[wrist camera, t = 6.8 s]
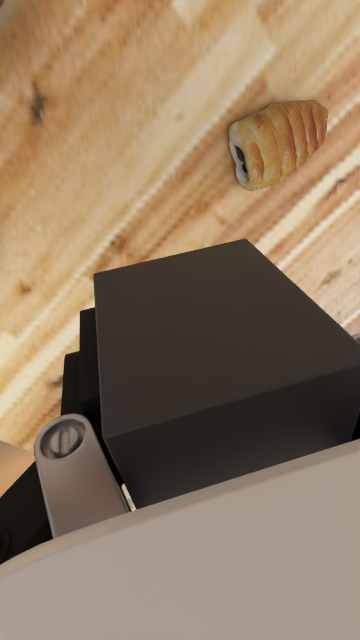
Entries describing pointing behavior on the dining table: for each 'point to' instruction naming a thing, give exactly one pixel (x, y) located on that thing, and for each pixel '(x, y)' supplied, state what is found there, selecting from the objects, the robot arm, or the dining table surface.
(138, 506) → the black block
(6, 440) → the dining table surface
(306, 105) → the pastry
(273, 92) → the dining table surface
